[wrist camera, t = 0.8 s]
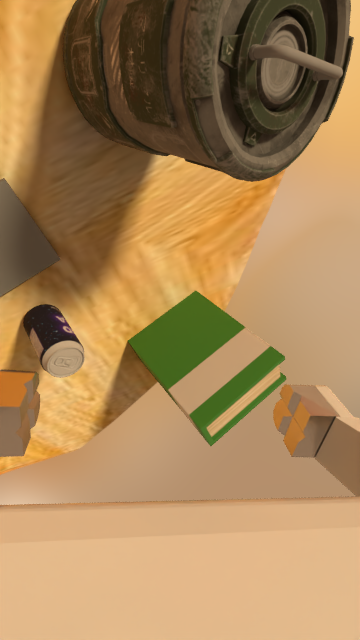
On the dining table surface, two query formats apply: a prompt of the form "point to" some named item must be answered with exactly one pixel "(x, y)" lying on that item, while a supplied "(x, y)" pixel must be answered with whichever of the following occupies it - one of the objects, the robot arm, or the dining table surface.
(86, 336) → the dining table surface
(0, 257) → the mat
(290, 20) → the canister
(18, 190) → the dining table surface
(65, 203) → the dining table surface
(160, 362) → the hardback book
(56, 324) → the beverage can
